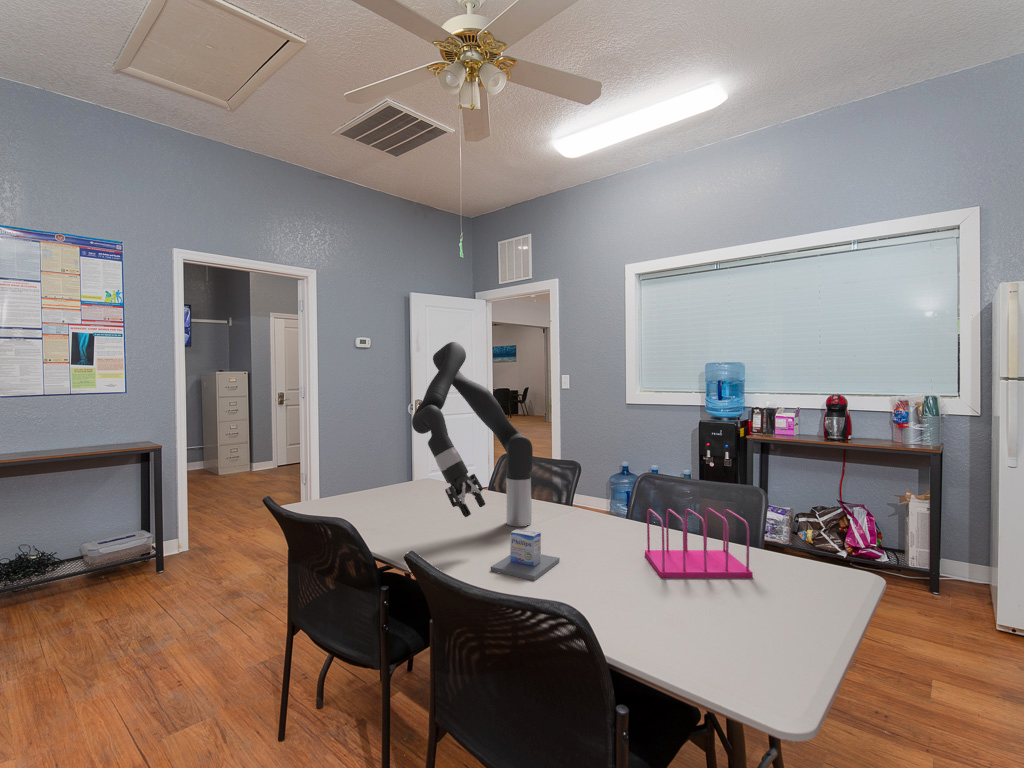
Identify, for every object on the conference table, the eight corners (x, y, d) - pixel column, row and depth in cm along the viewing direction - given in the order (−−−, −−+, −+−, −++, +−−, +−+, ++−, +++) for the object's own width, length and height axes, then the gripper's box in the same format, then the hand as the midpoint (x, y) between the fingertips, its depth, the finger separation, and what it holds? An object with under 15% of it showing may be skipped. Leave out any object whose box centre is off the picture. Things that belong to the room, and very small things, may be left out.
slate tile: (518, 553, 156) (518, 550, 156) (559, 561, 149) (559, 557, 149) (490, 570, 142) (490, 566, 142) (534, 580, 135) (534, 576, 135)
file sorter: (644, 556, 154) (644, 504, 154) (726, 556, 153) (726, 504, 153) (660, 578, 136) (660, 520, 136) (753, 578, 136) (753, 520, 136)
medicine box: (509, 562, 145) (509, 532, 145) (517, 557, 149) (517, 528, 149) (533, 567, 141) (533, 536, 141) (541, 562, 145) (541, 532, 145)
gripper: (456, 463, 167) (479, 507, 164) (429, 476, 154) (454, 523, 152) (471, 454, 163) (495, 498, 161) (446, 466, 151) (471, 514, 148)
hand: (475, 511), depth 156 cm, fingers open, 8 cm apart
